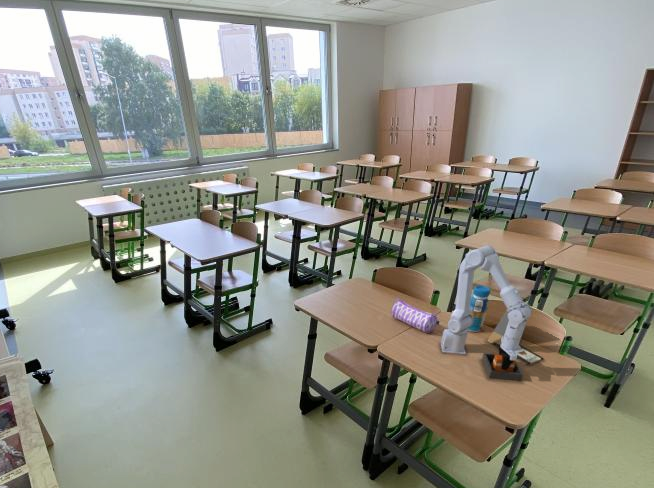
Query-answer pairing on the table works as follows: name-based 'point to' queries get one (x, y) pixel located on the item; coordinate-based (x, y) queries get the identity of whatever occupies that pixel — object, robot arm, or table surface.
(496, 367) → the snack box
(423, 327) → the pencil case
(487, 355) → the tray
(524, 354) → the chocolate bar
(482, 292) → the beverage bottle
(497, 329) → the sandwich container
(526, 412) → the table surface
